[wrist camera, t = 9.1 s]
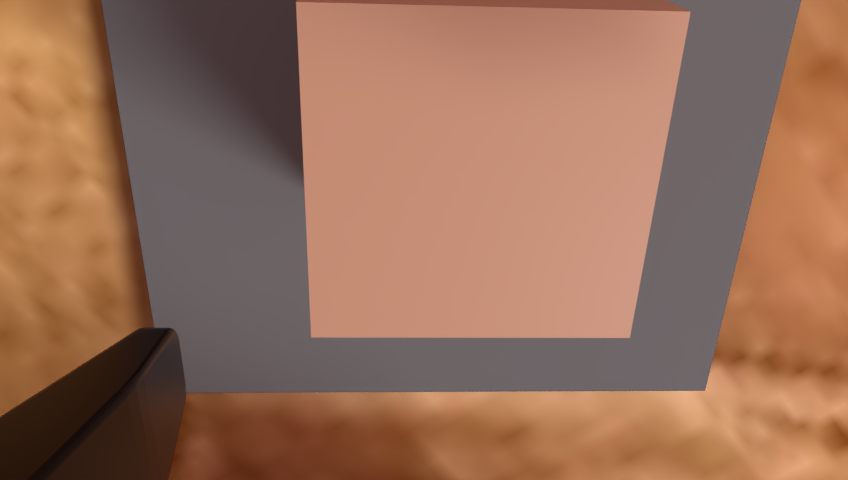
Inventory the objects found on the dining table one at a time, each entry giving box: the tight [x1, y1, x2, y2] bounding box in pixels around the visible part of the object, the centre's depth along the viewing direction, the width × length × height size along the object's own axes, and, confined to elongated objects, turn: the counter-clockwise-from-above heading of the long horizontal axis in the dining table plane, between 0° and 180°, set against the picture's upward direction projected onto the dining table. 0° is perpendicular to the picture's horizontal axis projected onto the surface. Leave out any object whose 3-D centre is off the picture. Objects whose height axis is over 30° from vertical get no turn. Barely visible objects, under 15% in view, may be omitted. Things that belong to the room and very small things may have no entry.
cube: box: [296, 0, 691, 338], centre depth 15 cm, size 6×6×6 cm
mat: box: [101, 0, 801, 393], centre depth 18 cm, size 18×16×1 cm
